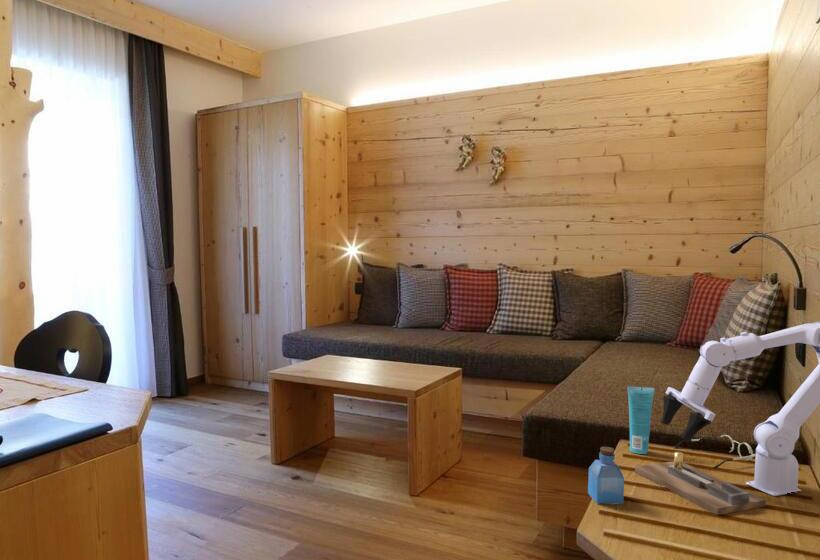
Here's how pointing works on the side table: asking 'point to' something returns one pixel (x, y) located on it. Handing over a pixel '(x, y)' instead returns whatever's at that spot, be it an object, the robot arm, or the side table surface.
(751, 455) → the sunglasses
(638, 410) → the tube
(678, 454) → the bolt
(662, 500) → the side table surface
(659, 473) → the door board
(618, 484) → the perfume bottle
